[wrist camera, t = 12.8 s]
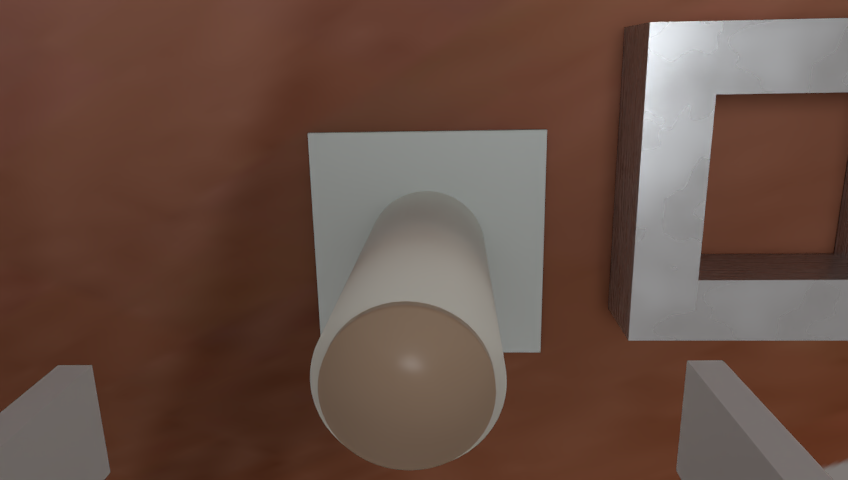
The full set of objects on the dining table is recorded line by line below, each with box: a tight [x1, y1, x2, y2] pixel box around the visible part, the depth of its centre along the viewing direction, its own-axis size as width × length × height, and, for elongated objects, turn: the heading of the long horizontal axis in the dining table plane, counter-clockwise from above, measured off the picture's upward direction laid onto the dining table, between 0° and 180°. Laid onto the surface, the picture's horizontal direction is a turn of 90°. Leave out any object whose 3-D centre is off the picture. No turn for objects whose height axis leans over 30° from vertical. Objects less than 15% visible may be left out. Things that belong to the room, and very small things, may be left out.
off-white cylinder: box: [310, 191, 507, 470], centre depth 22 cm, size 5×5×13 cm
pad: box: [308, 129, 547, 352], centre depth 29 cm, size 10×10×1 cm
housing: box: [608, 18, 848, 340], centre depth 26 cm, size 12×12×4 cm
